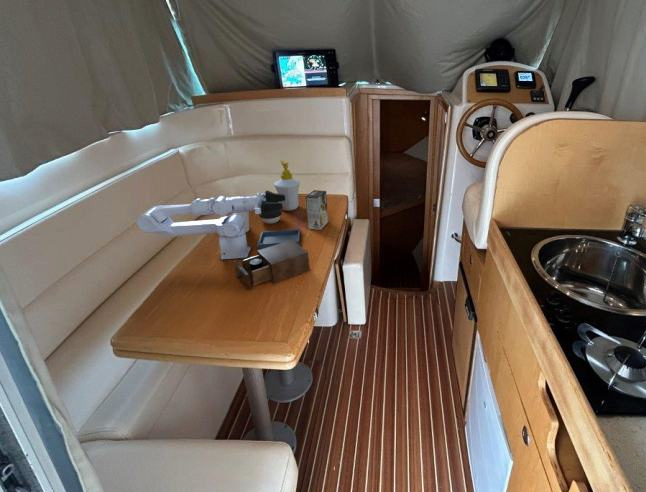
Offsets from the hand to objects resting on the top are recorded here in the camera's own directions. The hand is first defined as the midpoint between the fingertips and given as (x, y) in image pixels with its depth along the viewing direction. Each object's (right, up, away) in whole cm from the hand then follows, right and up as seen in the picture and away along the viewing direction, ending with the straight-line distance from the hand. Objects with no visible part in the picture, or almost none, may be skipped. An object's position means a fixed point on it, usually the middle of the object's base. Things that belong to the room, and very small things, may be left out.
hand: (283, 201), depth 138 cm
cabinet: (+2, -25, -5) cm, 26 cm away
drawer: (-5, -26, -12) cm, 29 cm away
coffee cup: (-27, -13, +24) cm, 39 cm away
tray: (-6, -17, +16) cm, 24 cm away
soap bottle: (-13, -4, +50) cm, 52 cm away
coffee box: (+7, -11, +31) cm, 33 cm away
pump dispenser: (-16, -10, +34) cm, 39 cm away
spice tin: (-5, -25, -12) cm, 29 cm away
